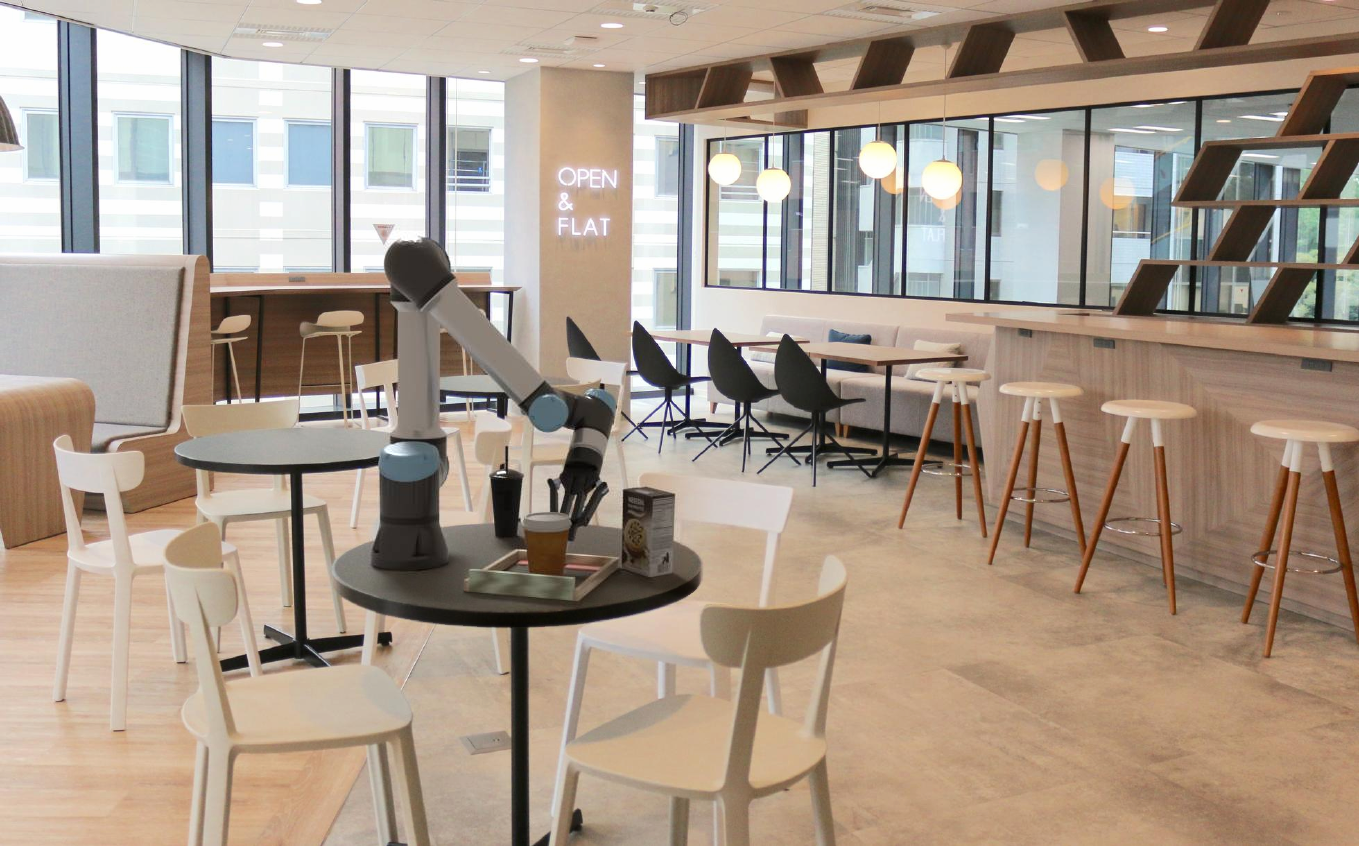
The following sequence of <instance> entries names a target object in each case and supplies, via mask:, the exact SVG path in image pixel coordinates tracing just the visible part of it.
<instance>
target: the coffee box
mask: <svg viewBox="0 0 1359 846" xmlns="http://www.w3.org/2000/svg"><path fill="white" fill-rule="evenodd" d="M675 504H676V493H674V492H673V493H672V492H669V491H665V490H661V489H656V488H654V487H648V486H641V487H629V488H623V489H622V515H621V516H622V519H621V520H622V521H621V522H622V523H621V524H622V526H621V527H622V528H621V529H622V530H621V531H622V533H621V569H623V570H627V571H630V572H632V573H635V574H639V575H642V576H645V577H648V578H654V577H658V576H664V575H669V574H673V573H674V572H673V571H674V568H673V567H674V566H673V565H674V539H675V536H674V535H675V533H674V532H675V512H676V511H675V509H676V508H675V507H676V505H675Z"/></svg>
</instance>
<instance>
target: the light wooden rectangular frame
mask: <svg viewBox="0 0 1359 846" xmlns="http://www.w3.org/2000/svg"><path fill="white" fill-rule="evenodd" d="M523 559H526V560H528V559H527V550H526V549H517V548H516V549H514V550H513V551H512V550H511V551H510V552H508V553H507V554H506V555H504V556H502V557H500V558H499V559H497V560H495V561H493V562H492V563H490V564H489V565H487V566H485V567H484V568H482V569H479V568H477V569H476V568H470V569H468V577H466V578H465V579H464V580H463V592H470V593H482V594H492V595H505V596H506V595H507V596H517V597H525V598H527V597H529V598H531V597H532V598H538V599H539V598H541V599H549V600H561V601H574V602H579V601H580V600H581V599H583V598H584V597H585V596H586V595H588V594H589V593H590V592H591V591H592V590H594V589H595V588H596V587H597V586H598V585H600V584H601V583H602V582H603V581H605V579H607V578H608V577H609V576H611V574H614V572H615V571H617V570H618V569H619V568H620V557H619V556H617V557H616V556H607V555H606V556H605V555H596V554H595V555H593V554H583V553H582V554H581V553H568V552H567V553H566V557H565V564H564V565H568V564H569V563H576V564H588V565H601V566H603V567H601V568H600V569H599V570H598V571H594V573H593V574H591V575H590V576H589V577H587V578H585V580H584V581H582V582H581V583H580V584H579V585H577V586H576V577H574V576H564V575H563V576H552V575H540V574H529V572H528V573H526V572H525V573H524V572H516V571H515V572H514V571H513V572H512V571H504V570H505V569H507V568H508V567H509V568H510V566H512V565H514V564H515V563H516V562H517V563H518V562H519V561H521V560H523Z"/></svg>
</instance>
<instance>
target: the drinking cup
mask: <svg viewBox="0 0 1359 846" xmlns="http://www.w3.org/2000/svg"><path fill="white" fill-rule="evenodd" d="M524 477H525V474H524V473H523V472H520V471H518V470H515V469H513V468H509V446H508V445H505V446H504V468H502V469H498V470H496V471H494V472H491V473H489V475H488V478H489V479H490V490H491V500H492V501H491V502H492V515H493V522H494V523H493V524H494V535H495V537H498V538H514V537H517V536H518V530H519V521H520V520H519V519H520V511H521V510H520V509H521V500H522V498H521V497H522V488H523V478H524Z"/></svg>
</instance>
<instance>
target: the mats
mask: <svg viewBox="0 0 1359 846" xmlns="http://www.w3.org/2000/svg"><path fill="white" fill-rule="evenodd" d="M516 565H517V566H527V567H528V560H526V559H523V560H519V561H517V563H516ZM601 567H603V566H601V565H588V564H576V563H569V564H566V565H564V570H577V571H587V572H588V571H590V572H592V571H593V572H596V571H598V570H599V569H600V568H601Z"/></svg>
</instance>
